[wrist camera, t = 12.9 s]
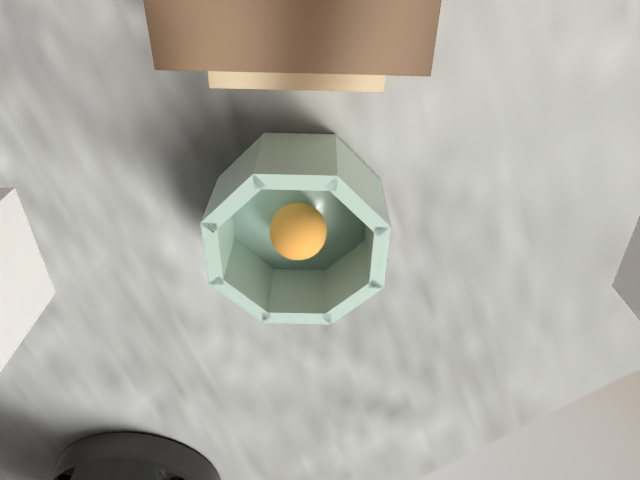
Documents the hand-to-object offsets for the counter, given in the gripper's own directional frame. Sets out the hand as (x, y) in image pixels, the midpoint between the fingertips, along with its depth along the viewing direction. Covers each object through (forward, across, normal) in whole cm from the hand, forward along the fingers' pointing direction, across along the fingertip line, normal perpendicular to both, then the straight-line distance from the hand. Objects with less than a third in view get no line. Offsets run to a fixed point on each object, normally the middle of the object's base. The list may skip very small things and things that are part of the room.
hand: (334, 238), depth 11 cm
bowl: (+17, -2, -9) cm, 19 cm away
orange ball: (+16, -2, -9) cm, 18 cm away
